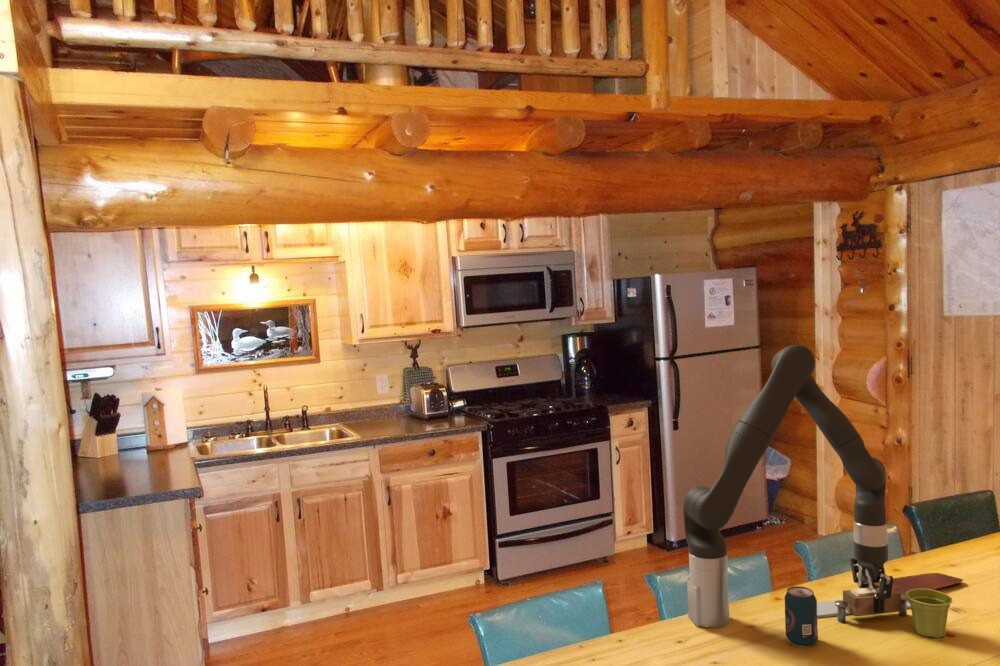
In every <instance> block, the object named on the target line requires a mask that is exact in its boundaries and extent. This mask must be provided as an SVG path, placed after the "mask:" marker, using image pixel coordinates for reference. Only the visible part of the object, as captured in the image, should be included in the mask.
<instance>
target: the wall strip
mask: <svg viewBox="0 0 1000 666" xmlns="http://www.w3.org/2000/svg"><path fill="white" fill-rule="evenodd" d="M838 600H840V601H843V599H834V600H827V601H826V600H824V601H817V619H818V618H827V617H828V618H829V617H836V616H837V617H838V609H837V606H836V605H835V601H838ZM907 609H911V605H910V603H909V601H907ZM847 615H852V614H851V613H850V612H848V611H847V610H846V616H847Z"/></svg>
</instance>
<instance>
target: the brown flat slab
mask: <svg viewBox="0 0 1000 666" xmlns="http://www.w3.org/2000/svg"><path fill="white" fill-rule="evenodd" d="M963 581H964V579H962V578H959V577H956V576H952V575H948V574H945V573H938V572H927V573H921V574H915V575H906V576H899V577H893V586H892V589H893V590H895V591H897V592H898V593H900V594H902V595H906V592H907V591H909V590H912V589H931V590H937V589H938V590H939V589H942V588H945V587H948V586H952V585H955V584H958V583H961V582H963ZM874 584H875V585H878V584H880V582H879V583H874ZM869 587H870V586H869ZM869 587H868V588H869Z"/></svg>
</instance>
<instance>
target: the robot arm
mask: <svg viewBox="0 0 1000 666" xmlns="http://www.w3.org/2000/svg"><path fill="white" fill-rule="evenodd" d="M770 367H771V371H772V372H771V373H770V376H769V378H768V379H767V381H766V383H765V385H764V386H763V388H762V389H761V391H760V392H759V393H758V394H757V396H756V397H755V398H754V399H753V400H752V401H751V403H750V404H749V405H748V406H747V407H746V409H745V410H744V411H743V413H742V414H741V416H740V417H739V419H737V422H736V424H735V425H734V426H733V428H732V430H731V432H730V434H729V436H728V437H727V441H726V445H725V453H724V458H723V459H724V460H723V466H722V467H721V468H722V469H721V471H720V474H719V476H718V477H717V479H716V481H715V482H714V484H713V485H712V487H711V488H710V487H707V486H704V485H699V486H694V487H692V488H691V489H690V490H689V491H688V492H687V493H686V495H685V497H684V500H683V508H682V509H683V522H684V523H683V525H684V535H685V536H684V537H685V540H686V543H687V545H688V561H689V562H688V565H689V579H687V581H686V587H687V588H686V589H687V590H686V591H687V615H688V618H689V619H690V620H691V621H692V622H693V623H694V625H695V624H696V625H697V626H696V625H695V626H696V627H704V626H707V627H706V628H710V627H716V628H722V627H724V626H728V624H729V622H730V604H729V602H730V601H729V597H730V596H729V569H728V565H729V564H728V545H727V542H726V540H725V538H724V537H723V535H722V533H721V530H720V529H722V528H724V527H725V526H726V525H727V524H728V522H729V521H730V520H731V518H732V517H733V514H734V512H735V510H736V508H737V505H738V503H739V501H740V499H741V497H742V493H744V489H745V488H746V485H747V483H748V482H749V481H750V478H751V477H752V475H753V473H754V471H755V470H756V468H757V466H758V464H759V462H760V461H761V459H762V457H763V456H764V454H765V453H766V452H767V449H768V448H769V446H770V444H771V443H772V441H773V439H774V437H775V435H776V433H778V432H777V431H778V430H779V427H780V426H781V424H782V422H783V421H784V418H785V416H786V414H787V412H788V410H789V408H790V406H791V404H792V402H793V401H794V399H796V400H797V401H798V402H799V403H800V404H801V406H802V407H803V408H804V409H805V411H806V412H807V413H808V414H809V416H810V418H811V419H812V420H813V422H814V423H815V425H816V426H817V427H818V429H819V430H820V431H821V433H822V434H823V436H824V437H825V439H826V440H827V442H828V443H829V445H830V446H831V448H833V450H834V451H835V453H836V454H837V455H838V457H839V459H840V460H841V463H842V465H843V466H844V469H845V471H846V472H847V474H848V476H849V477H850V479H851V481H852V482H853V483H854V484H855V499H854V504H853V505H854V506H853V511H854V512H853V517H854V520H853V521H854V523H853V531H852V532H853V558H852V557H851V558H850V559H849V561H850V566H851V567H850V568H851V573H852V581H853V583H854V584H855V583H856V584H857V588H858V589H860V588H868V587H869V586H870V588H872V590H873V595H874V612H875V613H877V614H876V615H879V614H878V613H883V612H884V599H887V598H891V592H892V586H893V578H894V577H893V575H887V573H886V570H885V566H884V565H885V563H886V562H888V560H889V544H888V543H889V542H888V541H889V540H888V539H889V535H888V533H889V532H888V527H887V526H888V525H887V507H886V490H887V489H886V487H887V486H886V485H887V470H886V466H885V465H884V464H883V462H882V461H881V460H880V459H878V458H876V457H873V456H872V455H871V454H870V452H869V451H868V449H867V448H866V445H865V442H864V439H863V437H862V436H861V435H860V433H859V432H858V430H857V428H856V427H855V426H854V424H853V423H852V422H851V420H850V419H849V418H848V416H847V415H846V414H845V413H844V412H843V410H841V409H840V408H839V406H837V405H836V404H835V403H834V402H833V401H831V399H830V398H829V397H828V396H827V395H826V394H825V393H824V392H823V390H822V389H821V388H820V387H819V385H818V383H817V382H816V381H815V378H814V377H813V374H814V371H815V367H816V358H815V356H814V353H813V352H812V350H811V349H810V348H809V347H807V346H804V345H802V344H793V345H788V346H786V347H784V348H782V349H781V350H779V351H778V352H776V354H775V355H774V356H773V358H772V360H771V366H770ZM879 582H880V584H878V585H875V584H874V583H879ZM877 588H879V593H878V592H877ZM885 591H886V593H885ZM883 614H884V613H883Z"/></svg>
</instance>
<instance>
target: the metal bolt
mask: <svg viewBox="0 0 1000 666" xmlns="http://www.w3.org/2000/svg"><path fill="white" fill-rule="evenodd" d="M907 602H909V599H908V598H907V596H906V595H902V594H901V612H897V613H898V615H899V616H900V617H908V615H907V614H908V613H907V612H908V611H907V609H908V608H907Z"/></svg>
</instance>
